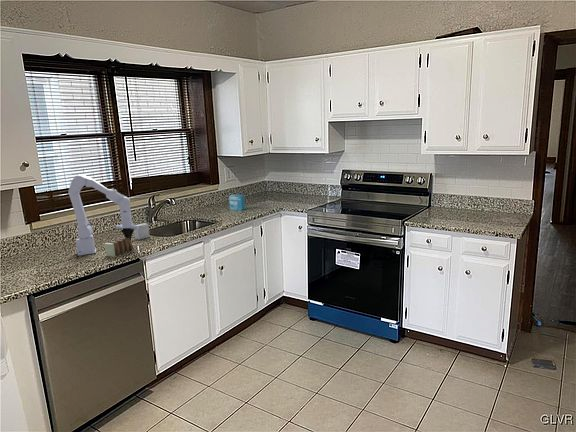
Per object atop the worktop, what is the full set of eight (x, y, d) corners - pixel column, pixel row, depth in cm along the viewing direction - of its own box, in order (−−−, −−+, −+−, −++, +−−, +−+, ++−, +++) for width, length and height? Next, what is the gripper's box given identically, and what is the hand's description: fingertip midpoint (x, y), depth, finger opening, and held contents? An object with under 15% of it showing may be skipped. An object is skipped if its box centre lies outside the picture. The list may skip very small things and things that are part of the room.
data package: (229, 209, 354) (228, 195, 351) (232, 208, 358) (231, 194, 355) (242, 210, 348) (241, 195, 346) (245, 209, 352) (244, 194, 350)
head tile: (131, 249, 249) (127, 239, 246) (125, 248, 251) (120, 238, 248) (133, 247, 251) (129, 237, 247) (127, 247, 253) (122, 237, 249)
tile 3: (122, 252, 243) (121, 240, 241) (115, 252, 245) (114, 240, 243) (124, 252, 244) (123, 240, 243) (118, 251, 246) (116, 239, 245)
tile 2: (127, 251, 246) (125, 239, 244) (120, 250, 248) (118, 238, 246) (129, 250, 248) (127, 238, 246) (122, 249, 250) (120, 237, 248)
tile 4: (117, 254, 240) (116, 242, 238) (111, 254, 242) (109, 241, 240) (120, 253, 241) (118, 241, 240) (113, 253, 243) (111, 241, 242)
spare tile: (113, 256, 236) (111, 244, 235) (106, 255, 238) (104, 243, 237) (115, 255, 238) (113, 243, 236) (108, 255, 240) (106, 242, 238)
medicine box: (145, 236, 279) (144, 223, 277) (149, 237, 276) (148, 223, 274) (134, 238, 273) (133, 225, 271) (138, 239, 270) (137, 226, 268)
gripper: (110, 219, 246) (113, 242, 249) (132, 219, 242) (135, 243, 245) (118, 216, 252) (121, 239, 255) (140, 217, 248) (143, 240, 251)
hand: (129, 241), depth 250 cm, fingers closed
